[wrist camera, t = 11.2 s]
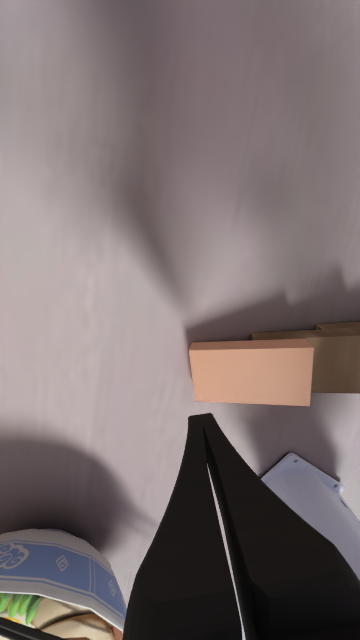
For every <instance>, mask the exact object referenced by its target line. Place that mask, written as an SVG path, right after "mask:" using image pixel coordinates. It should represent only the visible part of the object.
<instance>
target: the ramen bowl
mask: <svg viewBox="0 0 360 640" xmlns="http://www.w3.org/2000/svg"><path fill="white" fill-rule="evenodd" d="M126 612H127V609H126V605H125V601H124V598H123V595H122V593H121V590H120V588H119V585H118V582H117V580H116V577H115V575H114V573H113V570H112V568H111V565H110V563H109V562H108V561H107V560H106V558H105V557H104V556H103V555H102V554H101V553H100V552H99V551H97V550H96V549H95V548H94V547H93V546H91V545H90V544H89V543H88V542H87V541H85V540H83V539H80V538H77V537H75V536H73V535H72V534H71V533H68V532H66V531H63V530H61V529H50V528H46V529H26V530H20V531H14V532H8V533H3V534H0V640H122V637H123V629H124V623H125V617H126Z"/></svg>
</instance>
